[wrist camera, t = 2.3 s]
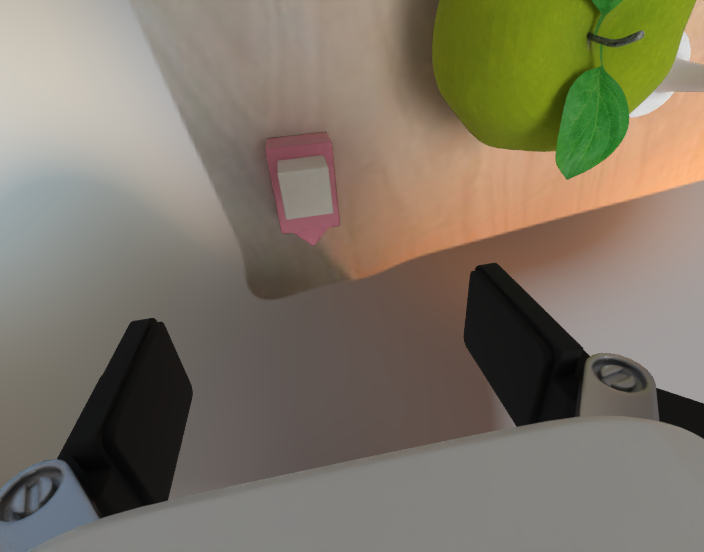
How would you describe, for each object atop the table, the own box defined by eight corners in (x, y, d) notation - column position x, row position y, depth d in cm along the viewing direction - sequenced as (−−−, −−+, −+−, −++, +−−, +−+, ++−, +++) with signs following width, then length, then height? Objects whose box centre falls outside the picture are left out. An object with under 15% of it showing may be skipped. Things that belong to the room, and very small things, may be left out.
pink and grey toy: (266, 138, 21) (263, 161, 17) (326, 131, 21) (337, 152, 17) (284, 233, 24) (286, 271, 20) (336, 226, 24) (347, 261, 21)
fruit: (405, 136, 22) (484, 197, 14) (410, -78, 17) (539, -186, 9) (550, 121, 23) (703, 171, 15) (595, -85, 18) (869, -186, 10)
